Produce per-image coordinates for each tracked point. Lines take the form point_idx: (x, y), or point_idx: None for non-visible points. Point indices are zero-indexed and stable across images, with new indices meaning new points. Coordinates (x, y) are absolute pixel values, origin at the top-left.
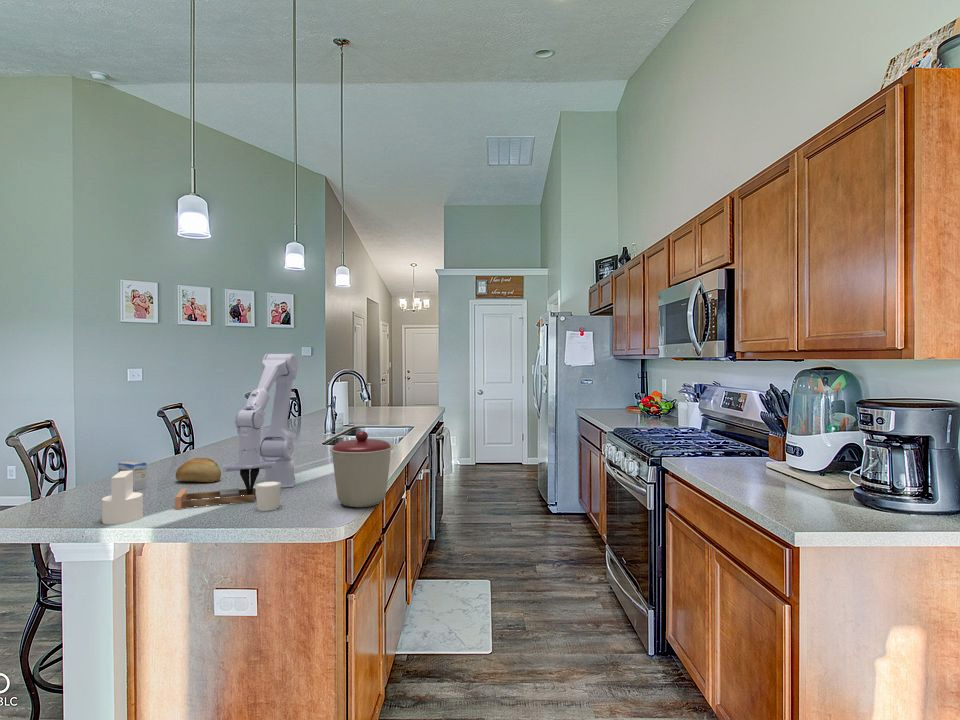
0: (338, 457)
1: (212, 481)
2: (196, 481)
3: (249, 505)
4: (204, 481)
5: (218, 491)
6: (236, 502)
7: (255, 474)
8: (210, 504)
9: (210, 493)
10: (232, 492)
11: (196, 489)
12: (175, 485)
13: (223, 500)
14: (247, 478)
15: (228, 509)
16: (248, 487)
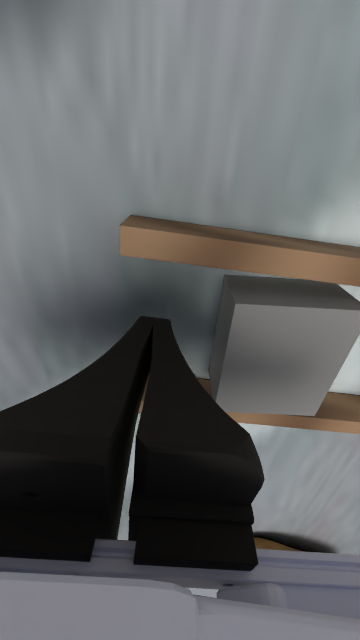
0: None
1: (254, 539)
2: (293, 548)
3: (167, 120)
4: (276, 543)
5: (310, 421)
6: (250, 233)
7: (34, 416)
8: None
9: (347, 415)
10: (273, 333)
11: (317, 504)
12: (347, 541)
13: (345, 252)
14: (160, 395)
15: (352, 53)
16: (158, 341)
